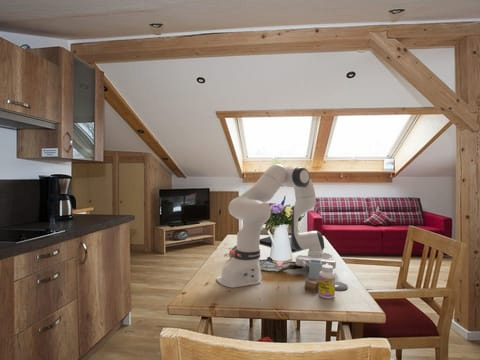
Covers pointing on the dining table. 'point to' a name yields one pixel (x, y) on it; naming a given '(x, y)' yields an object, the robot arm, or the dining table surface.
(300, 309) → the dining table surface
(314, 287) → the walnut box
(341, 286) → the slate coaster
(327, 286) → the supplement bottle
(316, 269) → the blue-gray rectangular block
